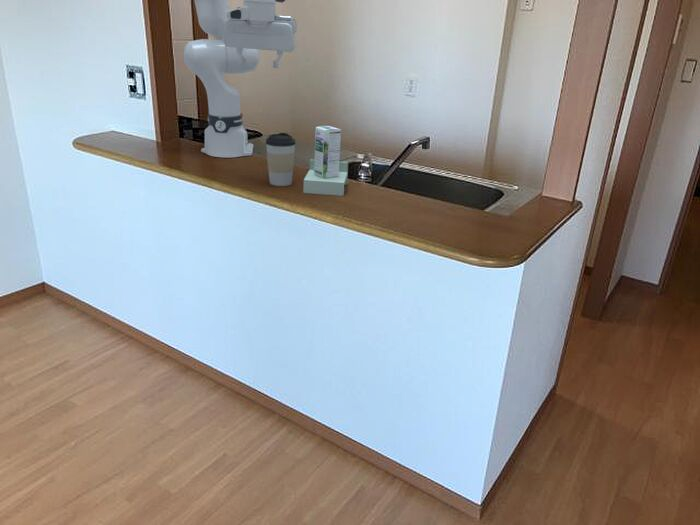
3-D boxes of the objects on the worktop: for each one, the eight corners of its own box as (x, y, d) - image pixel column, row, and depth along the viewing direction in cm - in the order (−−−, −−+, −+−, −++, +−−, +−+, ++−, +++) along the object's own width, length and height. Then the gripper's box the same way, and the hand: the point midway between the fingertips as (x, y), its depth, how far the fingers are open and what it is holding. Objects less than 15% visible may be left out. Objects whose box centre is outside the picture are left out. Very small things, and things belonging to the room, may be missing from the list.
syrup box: (313, 174, 169) (314, 126, 163) (328, 171, 173) (330, 125, 167) (324, 179, 166) (325, 130, 159) (339, 176, 169) (341, 128, 163)
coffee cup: (290, 188, 169) (290, 139, 162) (262, 185, 170) (261, 136, 164) (298, 180, 177) (299, 133, 170) (271, 177, 178) (271, 130, 172)
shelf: (309, 180, 177) (310, 159, 174) (347, 183, 176) (348, 162, 173) (303, 192, 165) (303, 170, 162) (343, 195, 165) (344, 173, 162)
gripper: (298, 16, 156) (297, 67, 162) (227, 10, 157) (228, 62, 163) (294, 17, 151) (293, 70, 157) (220, 11, 151) (222, 64, 157)
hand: (259, 66), depth 160 cm, fingers open, 8 cm apart
